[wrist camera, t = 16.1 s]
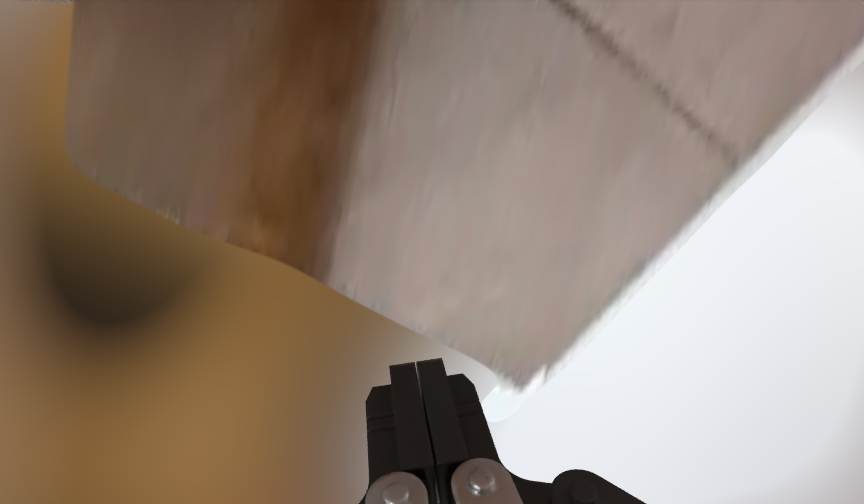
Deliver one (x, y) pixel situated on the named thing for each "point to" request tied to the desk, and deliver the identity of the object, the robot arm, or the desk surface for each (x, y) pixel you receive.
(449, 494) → the robot arm
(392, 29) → the desk surface
